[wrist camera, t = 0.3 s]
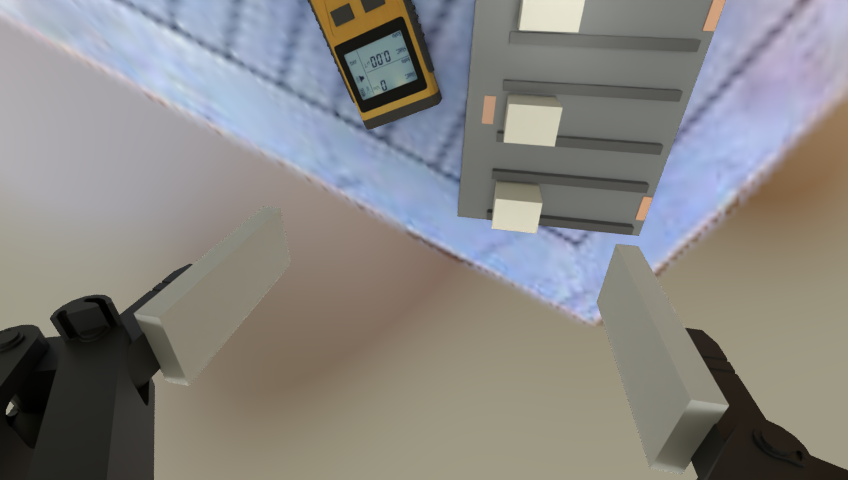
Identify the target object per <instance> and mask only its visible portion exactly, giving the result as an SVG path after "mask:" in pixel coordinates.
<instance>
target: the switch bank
mask: <svg viewBox="0 0 848 480" xmlns="http://www.w3.org/2000/svg"><path fill="white" fill-rule="evenodd" d="M725 1H726V0H585V3H584V8H583V13H582V17H581V22H580V27H579V32H578V33H576V32H553V31H529V30H519V29H518V28H517V26H518V18H519V11H520V4H521V0H476V3H475V15H474V26H473V38H472V50H471V62H470V74H469V85H468V97H467V109H466V121H465V133H464V144H463V156H462V168H461V180H460V192H459V203H458V215H457V216H459V217H468V218H478V219H486V220H492V212H493V202H494V194H495V187H496V180H505V181H516V182H527V183H537V184H539V189H540V193H541V198H542V203H543V204H542V209H541V213H540V218H539V223H538V225H542V226H551V227H560V228H570V229H579V230H588V231H598V232H607V233H616V234H626V235H636V236H639V234H640V231H641V228H642V226H643V223H644V220H645V218H646V215H647V212H648V210H649V207H650V204H651V201H652V199H653V196H654V193H655V191H656V188H657V185H658V183H659V180H660V177H661V174H662V172H663V169H664V166H665V164H666V161H667V158H668V155H669V153H670V150H671V147H672V145H673V142H674V139H675V137H676V134H677V131H678V128H679V126H680V123H681V120H682V118H683V115H684V112H685V110H686V107H687V104H688V101H689V99H690V96H691V93H692V91H693V88H694V85H695V82H696V80H697V77H698V74H699V72H700V69H701V66H702V64H703V61H704V58H705V55H706V53H707V50H708V47H709V45H710V42H711V39H712V36H713V34H714V31H715V28H716V26H717V23H718V20H719V18H720V15H721V12H722V9H723V7H724V4H725ZM508 93H510V94H526V95H542V96H556V98H557V99H558V101H559V103H560V104H561V106H562V107H563V108H562V113H561V118H560V123H559V127H558V132H557V137H556V142H555V146H541V145H529V144H516V143H504V121H505V114H506V106H507V99H508Z"/></svg>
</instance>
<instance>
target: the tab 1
mask: <svg viewBox="0 0 848 480" xmlns="http://www.w3.org/2000/svg"><path fill="white" fill-rule="evenodd" d="M584 3H585V0H521V4H520V11H519V18H518V26H517V28H518V29H519V30H529V31H553V32H576V33H578V32H579V27H580V22H581V17H582V13H583V8H584Z"/></svg>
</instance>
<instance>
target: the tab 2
mask: <svg viewBox="0 0 848 480" xmlns="http://www.w3.org/2000/svg"><path fill="white" fill-rule="evenodd" d="M562 108H563V107H562V106H561V104H560V103H559V101H558V99H557V98H556V96H542V95H526V94H510V93H508V99H507V106H506V114H505V121H504V143H516V144H529V145H541V146H555V142H556V137H557V132H558V127H559V123H560V118H561V113H562Z"/></svg>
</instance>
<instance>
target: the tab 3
mask: <svg viewBox="0 0 848 480" xmlns="http://www.w3.org/2000/svg"><path fill="white" fill-rule="evenodd" d="M542 204H543V203H542V198H541V193H540V189H539V184H537V183H527V182H516V181H505V180H496V187H495V194H494V202H493V212H492V229H500V230H509V231H518V232H527V233H536V232H537V228H538V223H539V218H540V213H541V209H542Z"/></svg>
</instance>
